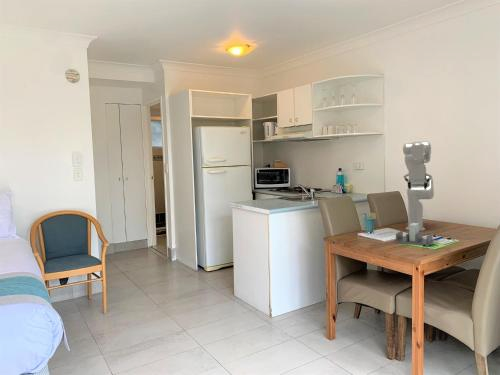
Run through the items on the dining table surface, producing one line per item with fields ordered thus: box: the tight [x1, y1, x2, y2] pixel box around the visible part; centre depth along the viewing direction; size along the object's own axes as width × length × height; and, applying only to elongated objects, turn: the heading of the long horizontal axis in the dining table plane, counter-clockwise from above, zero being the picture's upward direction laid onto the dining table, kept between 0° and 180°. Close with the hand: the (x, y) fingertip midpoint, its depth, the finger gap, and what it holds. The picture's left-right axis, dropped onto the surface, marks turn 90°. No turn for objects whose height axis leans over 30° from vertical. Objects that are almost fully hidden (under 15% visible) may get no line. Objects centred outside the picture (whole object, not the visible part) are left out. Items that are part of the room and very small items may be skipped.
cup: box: [360, 212, 377, 233], centre depth 275 cm, size 14×8×15 cm, turn 121°
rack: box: [394, 230, 435, 247], centre depth 243 cm, size 13×20×6 cm, turn 52°
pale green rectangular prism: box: [408, 223, 420, 241], centre depth 242 cm, size 8×4×10 cm, turn 142°
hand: (417, 188), depth 253 cm, fingers open, 9 cm apart
